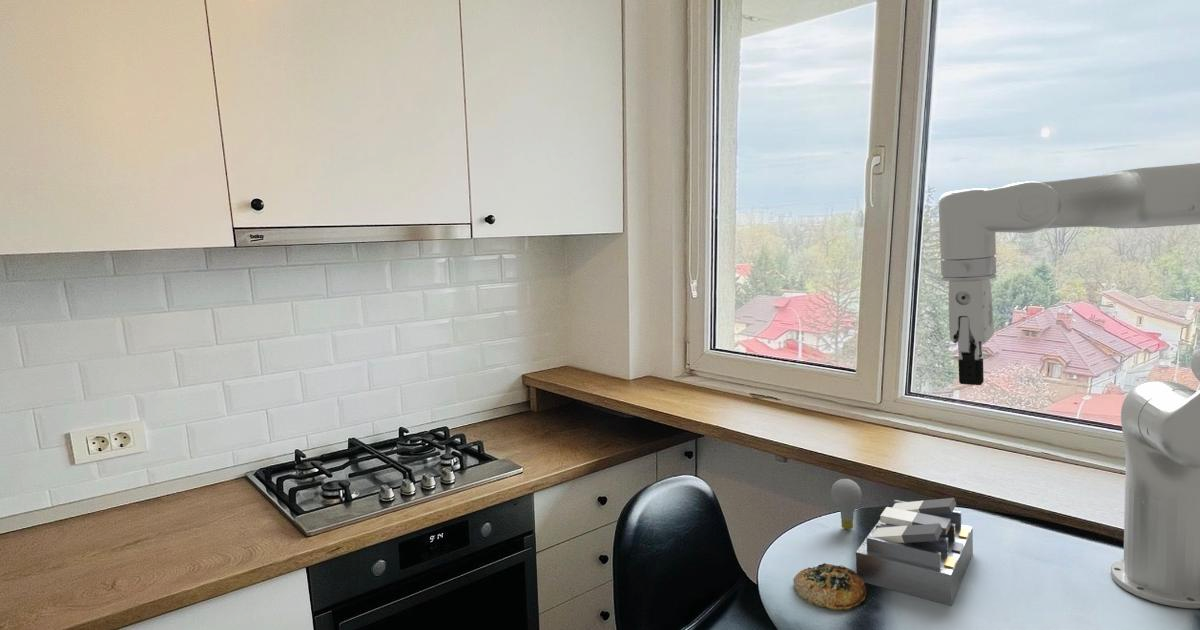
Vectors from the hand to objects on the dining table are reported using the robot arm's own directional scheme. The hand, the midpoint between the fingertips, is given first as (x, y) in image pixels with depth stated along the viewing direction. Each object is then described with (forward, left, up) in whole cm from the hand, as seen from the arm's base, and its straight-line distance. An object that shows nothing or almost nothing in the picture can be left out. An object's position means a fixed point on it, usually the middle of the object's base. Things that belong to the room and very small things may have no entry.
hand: (971, 383), depth 103 cm
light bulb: (+22, -4, -32) cm, 39 cm away
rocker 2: (+8, +4, -24) cm, 25 cm away
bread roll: (+18, +18, -32) cm, 41 cm away
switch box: (+8, +4, -32) cm, 33 cm away
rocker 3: (+8, +9, -24) cm, 27 cm away
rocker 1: (+8, -2, -24) cm, 25 cm away
